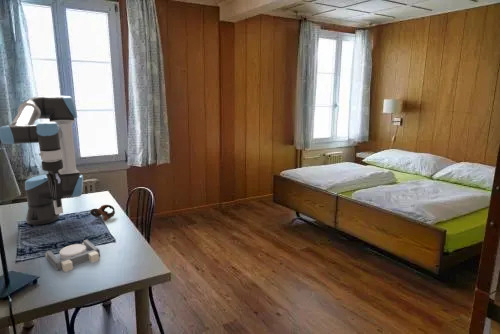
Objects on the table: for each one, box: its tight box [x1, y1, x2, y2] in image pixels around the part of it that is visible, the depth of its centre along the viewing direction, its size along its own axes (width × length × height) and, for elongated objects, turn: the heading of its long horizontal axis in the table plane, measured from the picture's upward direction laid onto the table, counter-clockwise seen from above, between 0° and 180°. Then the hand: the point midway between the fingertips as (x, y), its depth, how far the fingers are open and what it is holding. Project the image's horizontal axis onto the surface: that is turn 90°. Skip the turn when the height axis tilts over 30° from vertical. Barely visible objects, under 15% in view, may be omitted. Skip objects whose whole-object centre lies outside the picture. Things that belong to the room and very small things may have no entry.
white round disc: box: [58, 243, 88, 261], centre depth 139 cm, size 10×10×4 cm
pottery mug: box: [90, 204, 116, 222], centre depth 179 cm, size 12×10×8 cm
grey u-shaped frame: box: [45, 239, 101, 273], centre depth 138 cm, size 18×16×3 cm
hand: (59, 213), depth 144 cm, fingers closed
